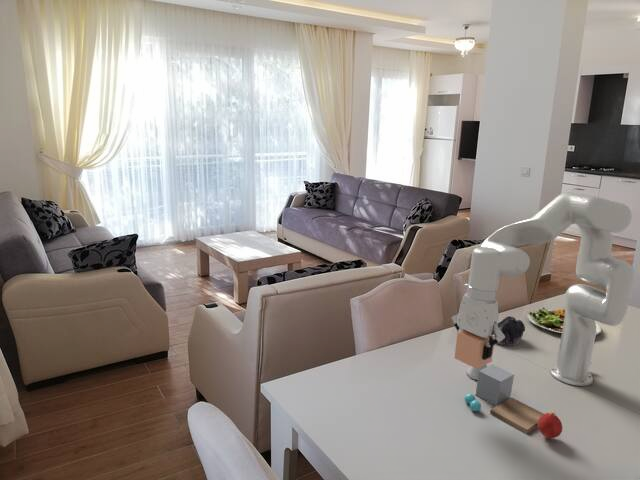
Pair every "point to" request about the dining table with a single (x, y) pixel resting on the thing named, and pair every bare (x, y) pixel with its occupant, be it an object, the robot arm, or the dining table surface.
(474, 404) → the teal marble
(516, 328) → the crystal cluster
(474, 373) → the flask
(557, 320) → the plate of food
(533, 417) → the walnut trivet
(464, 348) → the peach cube
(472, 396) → the teal marble
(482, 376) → the gray cube
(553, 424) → the red rounded lump
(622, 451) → the dining table surface
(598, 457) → the dining table surface
